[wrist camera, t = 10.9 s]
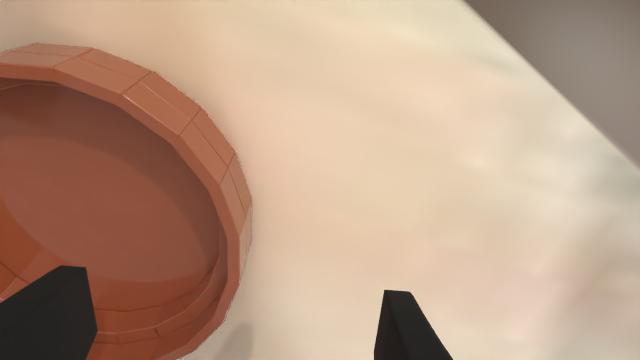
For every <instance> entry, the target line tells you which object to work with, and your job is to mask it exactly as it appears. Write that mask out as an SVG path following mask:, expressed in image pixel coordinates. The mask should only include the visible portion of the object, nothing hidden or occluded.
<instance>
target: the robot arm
mask: <svg viewBox="0 0 640 360" xmlns="http://www.w3.org/2000/svg"><path fill="white" fill-rule="evenodd" d="M97 332H98V329H97V323H96V318H95V313H94V307H93V302H92V297H91V291H90V286H89V281H88V275H87V270H86V267H78V266H65V265H60V266H58V267H57V268H55V269H53V270H51V271H50V272H48V273H46V274H45V275H43V276H42V277H40V278H38V279H37V280H35V281H34V282H32V283H31V284H29V285H27V286H26V287H24V288H23V289H21V290H20V291H18V292H16V293H15V294H13V295H12V296H10V297H9V298H7V299H5V300H4V301H2V302H1V303H0V360H86V358H87V355H88V353H89V351H90V349H91V346H92V344H93V341H94V339H95V337H96V334H97ZM374 360H453V359H452V357H451V356H450V354H449V353H448V351H447V350H446V348H445V347H444V346H443V344H442V343H441V341H440V339H439V338H438V336H437V335H436V333H435V332H434V330H433V328H432V327H431V325H430V324H429V322H428V320H427V319H426V317H425V315H424V314H423V312H422V310H421V309H420V307H419V305H418V303H417V302H416V300H415V298H414V296H413V295H412V294H411V293H410V292H406V291H393V290H384V295H383V301H382V307H381V313H380V319H379V325H378V331H377V337H376V342H375V348H374Z"/></svg>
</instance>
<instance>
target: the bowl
mask: <svg viewBox="0 0 640 360" xmlns="http://www.w3.org/2000/svg"><path fill="white" fill-rule="evenodd" d="M251 241H252V199H251V195H250V192H249V189H248V186H247V184H246V181H245V178H244V175H243V172H242V170H241V167H240V164H239V161H238V158H237V155H236V153H235V151H234V150H233V148H232V147H231V146H230V144H229V143H228V142H227V140H226V139H225V138H224V136H223V135H222V134H221V132H220V131H219V130H218V129H217V127H216V126H215V125H214V123H213V122H212V121H211V119H210V118H209V117H208V115H207V114H206V113H205V111H204V110H203V109H202V108H201V107H200V106H199V105H198V104H196V103H195V102H194V101H192V100H191V99H190V98H188V97H187V96H186V95H184V94H183V93H182V92H180V91H179V90H178V89H177V88H175V87H174V86H173V85H171V84H170V83H169V82H167V81H166V80H165V79H163V78H162V77H161V76H159V75H158V74H157V73H155V72H152V71H151V70H149V69H146V68H144V67H141V66H139V65H136V64H133V63H131V62H128V61H126V60H123V59H121V58H118V57H116V56H113V55H110V54H108V53H105V52H103V51H100V50H98V49H94V48H89V47H76V46H63V45H51V44H38V43H36V44H34V43H33V44H30V45H26V46H22V47H19V48H15V49H11V50H7V51H4V52H0V303H1V302H2V301H4V300H5V299H7V298H9V297H10V296H12V295H13V294H15V293H16V292H18V291H20V290H21V289H23V288H24V287H26V286H27V285H29V284H31V283H32V282H34V281H35V280H37V279H38V278H40V277H42V276H43V275H45V274H46V273H48V272H50V271H51V270H53V269H55V268H57V267H58V266H60V265H65V266H78V267H86V270H87V275H88V281H89V286H90V291H91V297H92V302H93V307H94V313H95V318H96V323H97V329H98V332H97V334H96V337H95V339H94V341H93V344H92V346H91V349H90V351H89V353H88V355H87V358H86V360H176V359H179V358H181V357H183V356H185V355H187V354H189V353H191V352H193V351H195V350H196V349H197V348H198V347H199V346H200V345H201V344H202V343H203V342H204V341H205V340H206V339H207V338H208V337H209V336H210V335H211V334H212V333H213V332H214V331H215V330H216V329H217V328H218V327H219V326H220V325H221V324H222V323H223V321H224V320H225V318H226V315H227V313H228V310H229V308H230V306H231V303H232V301H233V299H234V296H235V294H236V291H237V289H238V287H239V284H240V281H241V277H242V273H243V270H244V266H245V262H246V259H247V255H248V252H249V248H250V245H251Z"/></svg>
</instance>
